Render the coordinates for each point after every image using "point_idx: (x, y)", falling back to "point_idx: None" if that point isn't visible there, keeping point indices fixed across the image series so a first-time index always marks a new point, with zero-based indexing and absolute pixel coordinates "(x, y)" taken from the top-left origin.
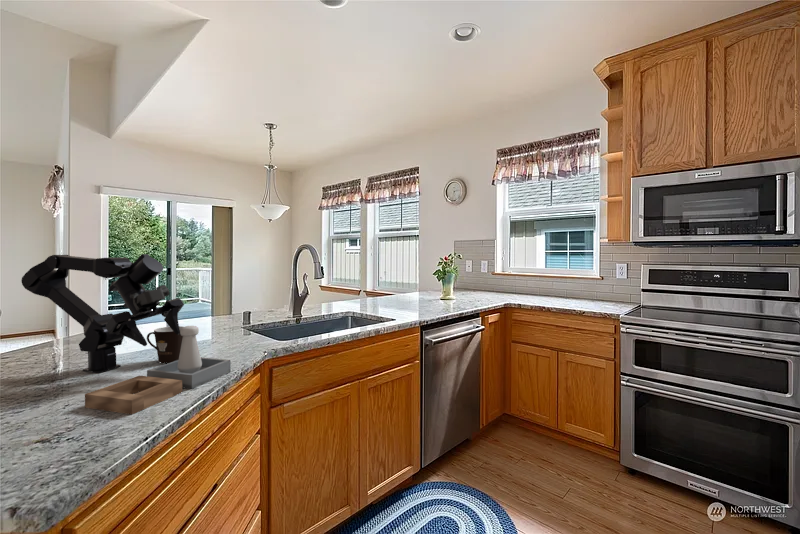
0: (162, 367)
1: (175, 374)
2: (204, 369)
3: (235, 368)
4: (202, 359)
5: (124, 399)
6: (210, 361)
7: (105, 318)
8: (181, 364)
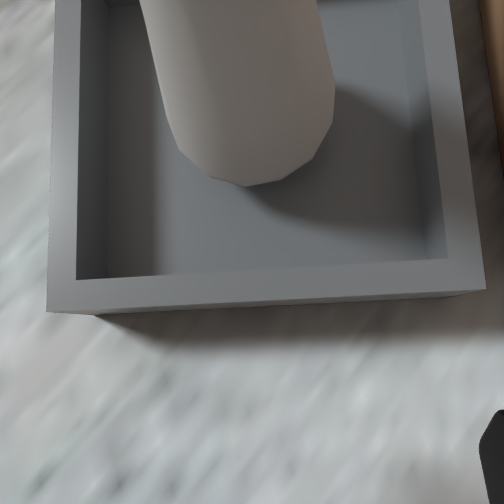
0: (357, 264)
1: (449, 26)
2: None
3: (27, 32)
4: (81, 159)
5: None
6: (88, 92)
7: None
8: (331, 82)
